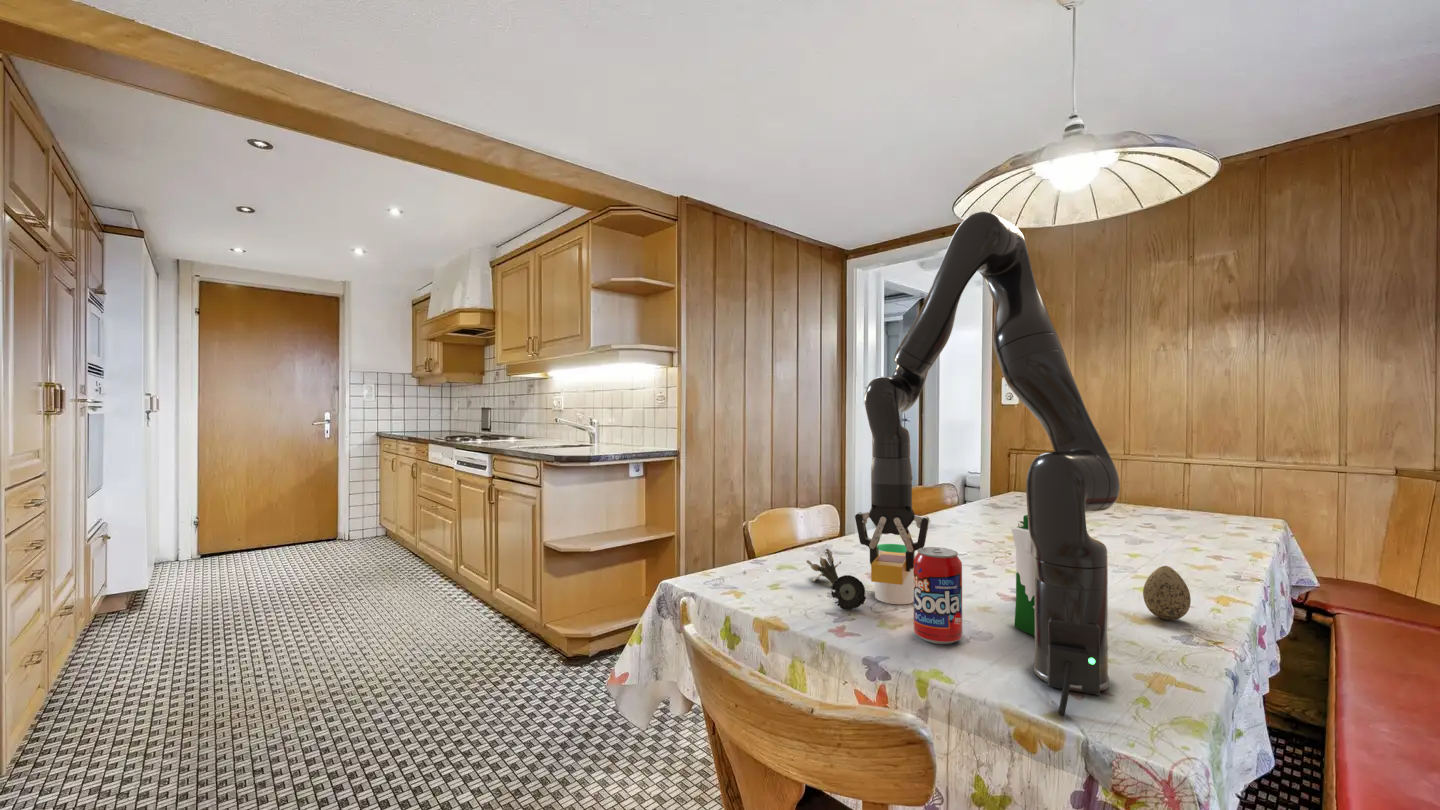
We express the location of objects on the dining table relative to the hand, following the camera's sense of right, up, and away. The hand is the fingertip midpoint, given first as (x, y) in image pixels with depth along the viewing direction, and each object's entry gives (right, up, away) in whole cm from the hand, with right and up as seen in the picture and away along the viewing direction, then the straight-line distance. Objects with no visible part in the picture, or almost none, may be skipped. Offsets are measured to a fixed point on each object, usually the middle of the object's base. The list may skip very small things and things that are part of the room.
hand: (892, 568), depth 114 cm
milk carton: (+24, -9, -9) cm, 28 cm away
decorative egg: (+51, -9, -2) cm, 52 cm away
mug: (+3, -9, +12) cm, 15 cm away
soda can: (+4, -9, -12) cm, 15 cm away
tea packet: (0, -1, -1) cm, 1 cm away
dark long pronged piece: (-9, -9, +14) cm, 19 cm away
